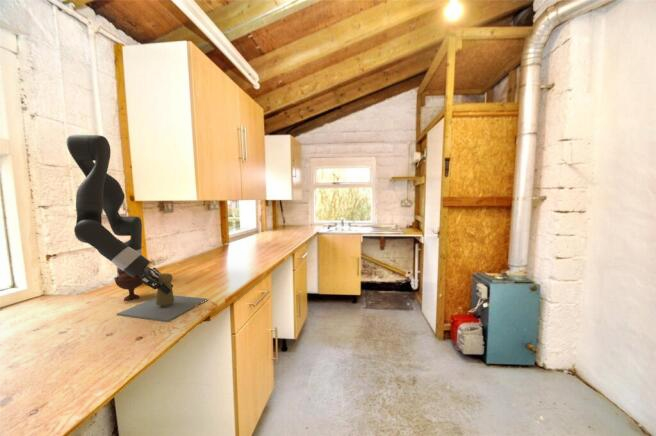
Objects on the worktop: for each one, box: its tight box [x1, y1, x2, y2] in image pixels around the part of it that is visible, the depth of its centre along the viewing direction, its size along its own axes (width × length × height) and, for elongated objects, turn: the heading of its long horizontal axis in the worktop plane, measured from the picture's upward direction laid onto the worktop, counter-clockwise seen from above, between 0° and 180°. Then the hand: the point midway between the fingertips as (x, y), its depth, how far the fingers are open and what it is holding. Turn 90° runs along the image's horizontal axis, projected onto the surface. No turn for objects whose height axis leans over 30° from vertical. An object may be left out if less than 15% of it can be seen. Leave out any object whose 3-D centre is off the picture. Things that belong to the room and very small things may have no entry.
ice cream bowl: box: [113, 268, 144, 302], centre depth 109 cm, size 11×11×15 cm
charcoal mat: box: [116, 294, 208, 323], centre depth 101 cm, size 22×20×1 cm
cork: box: [156, 272, 174, 305], centre depth 100 cm, size 6×6×11 cm
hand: (170, 290), depth 101 cm, fingers closed on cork, 4 cm apart
